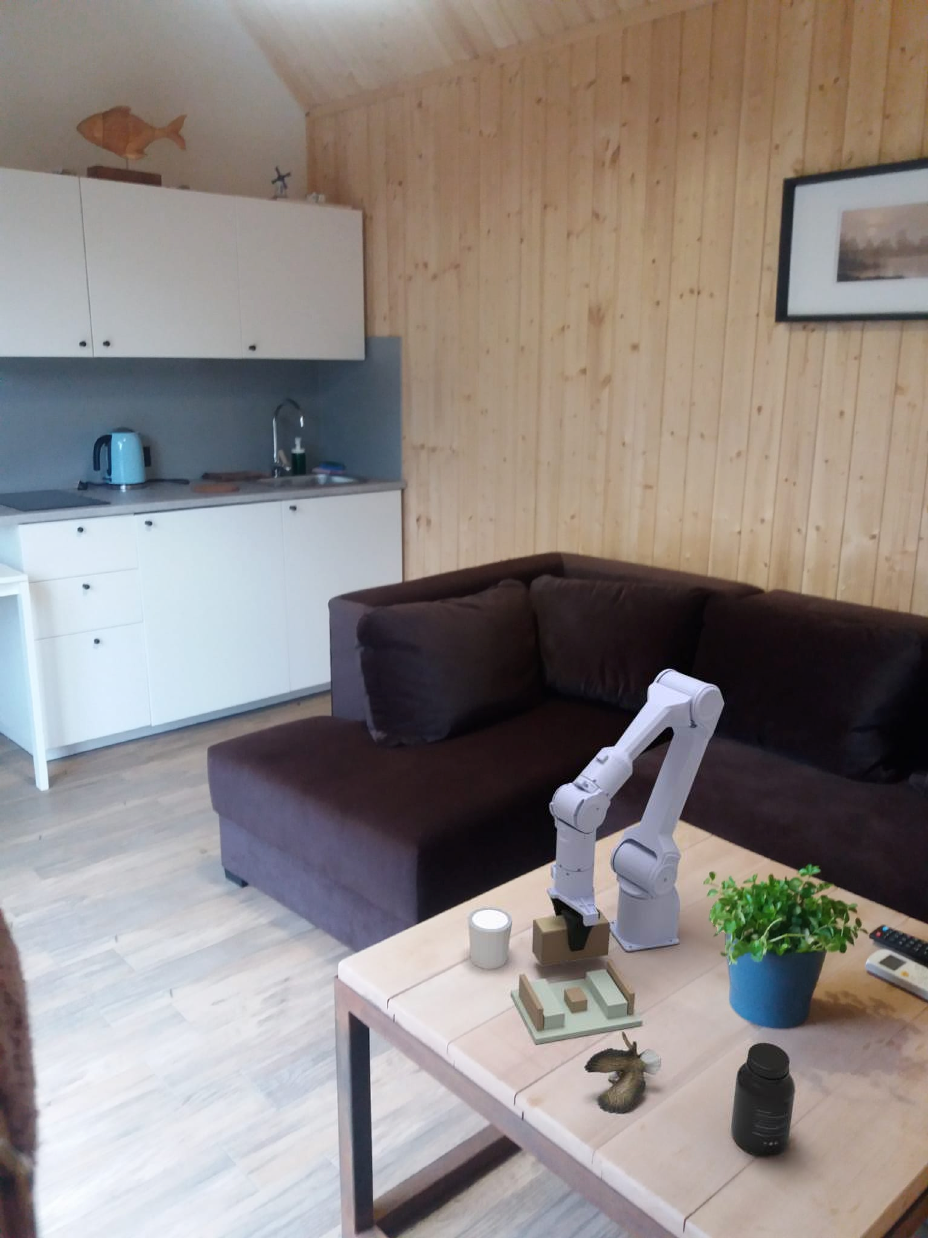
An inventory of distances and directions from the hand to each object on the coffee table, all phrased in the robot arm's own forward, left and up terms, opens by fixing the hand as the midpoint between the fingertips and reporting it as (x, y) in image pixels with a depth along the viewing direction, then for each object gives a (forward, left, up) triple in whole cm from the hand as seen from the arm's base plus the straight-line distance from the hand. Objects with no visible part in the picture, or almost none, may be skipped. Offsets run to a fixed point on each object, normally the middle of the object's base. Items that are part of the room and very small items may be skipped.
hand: (571, 940), depth 155 cm
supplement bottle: (-10, +38, -5) cm, 40 cm away
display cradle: (+3, +10, -4) cm, 11 cm away
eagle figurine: (+3, +26, -5) cm, 27 cm away
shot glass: (+12, -5, -5) cm, 13 cm away
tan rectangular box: (0, 0, -2) cm, 2 cm away
